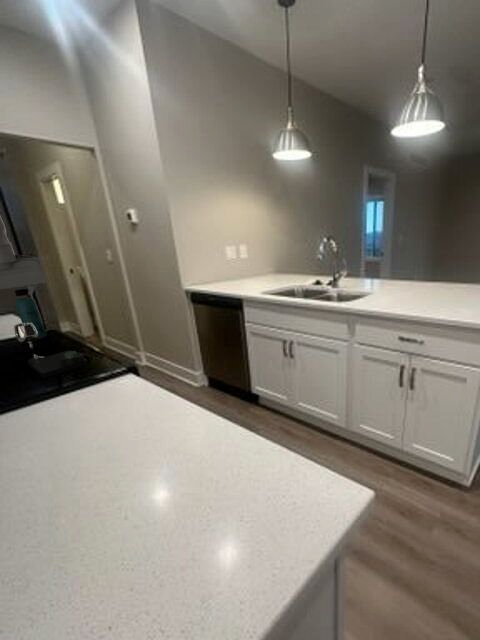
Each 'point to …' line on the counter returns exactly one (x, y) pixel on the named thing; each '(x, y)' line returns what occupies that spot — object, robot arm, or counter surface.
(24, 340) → the wineglass
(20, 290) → the beverage bottle
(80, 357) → the scale
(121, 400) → the counter surface
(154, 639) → the counter surface
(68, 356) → the tare button
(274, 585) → the counter surface
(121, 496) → the counter surface
